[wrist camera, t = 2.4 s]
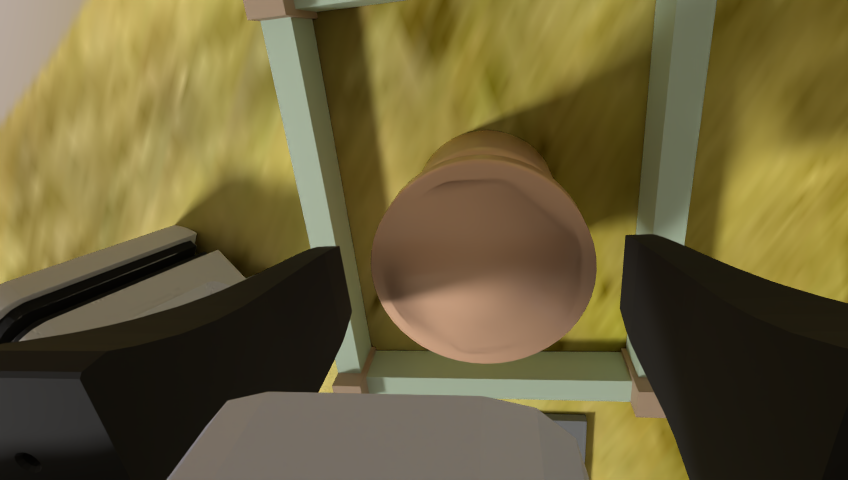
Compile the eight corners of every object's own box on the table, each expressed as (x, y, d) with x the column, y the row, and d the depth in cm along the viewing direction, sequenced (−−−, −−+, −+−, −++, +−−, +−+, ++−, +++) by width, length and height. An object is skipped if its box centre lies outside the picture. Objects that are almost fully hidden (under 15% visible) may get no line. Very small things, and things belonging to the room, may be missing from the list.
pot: (565, 114, 16) (602, 156, 10) (562, 265, 18) (591, 364, 12) (400, 128, 17) (355, 172, 11) (417, 269, 19) (386, 362, 13)
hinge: (208, 490, 27) (-3, 668, 18) (157, 439, 28) (-64, 582, 20) (282, 268, 20) (-8, 385, 11) (208, 212, 21) (-103, 279, 12)
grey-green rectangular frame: (699, -79, 13) (745, -105, 11) (649, 371, 19) (670, 418, 17) (277, -17, 15) (236, -28, 13) (354, 367, 21) (337, 408, 19)
